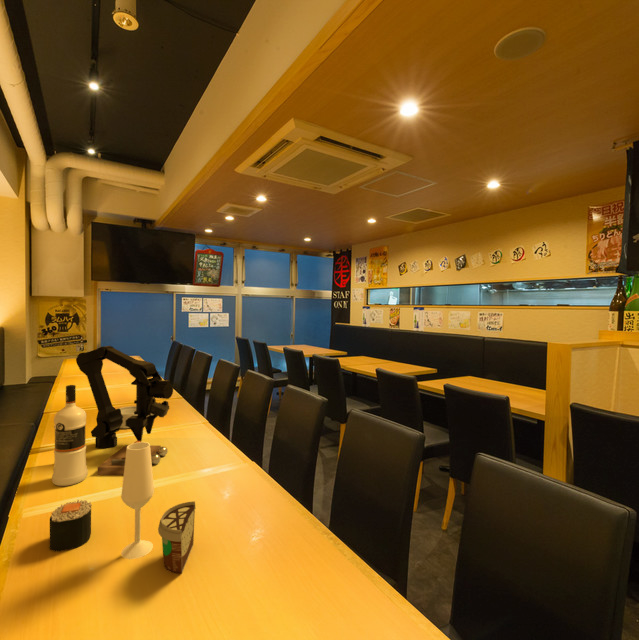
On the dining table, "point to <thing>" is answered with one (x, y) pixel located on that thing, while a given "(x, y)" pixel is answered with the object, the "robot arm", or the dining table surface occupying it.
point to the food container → (177, 536)
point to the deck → (119, 462)
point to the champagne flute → (137, 492)
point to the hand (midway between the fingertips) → (144, 437)
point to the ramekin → (127, 414)
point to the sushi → (70, 525)
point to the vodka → (70, 442)
